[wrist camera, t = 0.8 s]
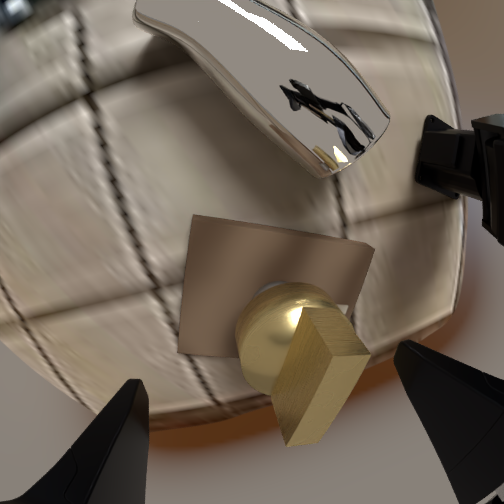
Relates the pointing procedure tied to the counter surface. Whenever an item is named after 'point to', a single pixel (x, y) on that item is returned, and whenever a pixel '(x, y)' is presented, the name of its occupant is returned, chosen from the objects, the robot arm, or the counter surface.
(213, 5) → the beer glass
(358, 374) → the cap
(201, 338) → the base
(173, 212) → the counter surface
